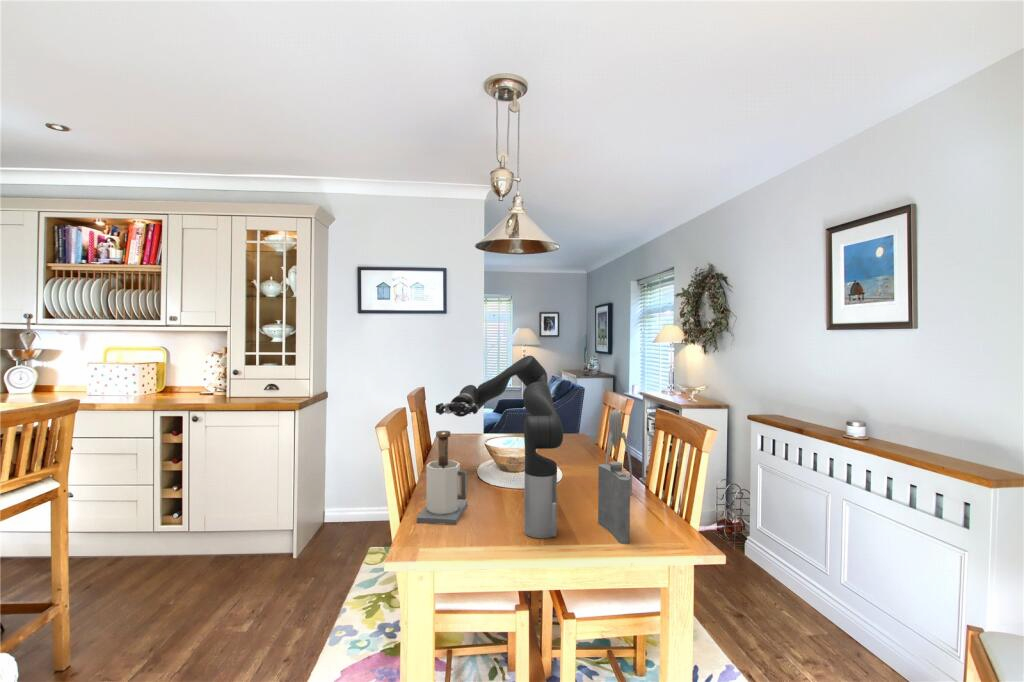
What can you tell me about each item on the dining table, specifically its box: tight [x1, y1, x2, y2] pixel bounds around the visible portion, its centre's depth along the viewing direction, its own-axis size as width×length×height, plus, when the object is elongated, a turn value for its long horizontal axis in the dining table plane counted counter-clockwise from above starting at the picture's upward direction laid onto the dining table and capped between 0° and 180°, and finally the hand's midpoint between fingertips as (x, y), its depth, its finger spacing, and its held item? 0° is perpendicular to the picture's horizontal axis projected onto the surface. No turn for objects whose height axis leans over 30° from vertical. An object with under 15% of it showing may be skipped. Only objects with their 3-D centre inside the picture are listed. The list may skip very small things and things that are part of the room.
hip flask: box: [597, 461, 631, 545], centre depth 144 cm, size 16×4×20 cm, turn 15°
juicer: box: [605, 408, 633, 497], centre depth 175 cm, size 10×9×30 cm
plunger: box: [435, 430, 451, 469], centre depth 157 cm, size 8×8×23 cm
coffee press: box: [416, 459, 468, 525], centre depth 157 cm, size 13×16×16 cm
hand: (452, 411), depth 168 cm, fingers open, 8 cm apart
